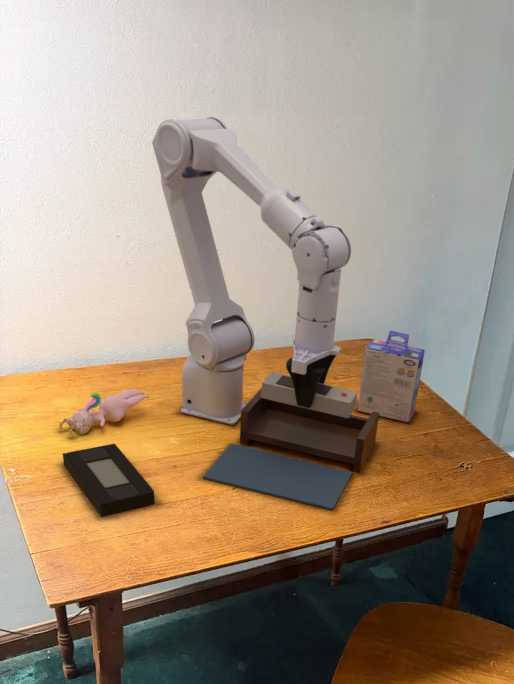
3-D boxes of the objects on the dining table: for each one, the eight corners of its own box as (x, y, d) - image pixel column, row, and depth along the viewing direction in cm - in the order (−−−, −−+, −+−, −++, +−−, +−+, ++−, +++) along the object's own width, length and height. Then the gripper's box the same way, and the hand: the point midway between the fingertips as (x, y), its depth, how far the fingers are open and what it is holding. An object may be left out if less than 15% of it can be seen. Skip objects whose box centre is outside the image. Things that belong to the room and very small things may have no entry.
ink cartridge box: (415, 411, 145) (428, 336, 136) (409, 424, 140) (423, 347, 132) (363, 399, 145) (373, 324, 137) (356, 411, 141) (366, 334, 133)
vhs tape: (115, 455, 118) (114, 443, 116) (155, 503, 109) (154, 491, 108) (64, 465, 113) (62, 453, 112) (101, 516, 105) (100, 504, 104)
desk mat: (202, 478, 116) (202, 476, 116) (231, 445, 125) (231, 443, 125) (332, 510, 114) (332, 508, 114) (352, 474, 123) (352, 472, 123)
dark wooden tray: (239, 443, 126) (240, 410, 122) (261, 417, 134) (263, 385, 130) (359, 473, 124) (364, 439, 121) (374, 444, 132) (379, 412, 129)
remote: (261, 397, 121) (261, 381, 119) (270, 386, 125) (271, 370, 123) (348, 418, 120) (350, 402, 118) (355, 406, 124) (357, 390, 122)
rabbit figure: (79, 450, 120) (160, 410, 128) (70, 417, 115) (154, 378, 124) (56, 434, 122) (136, 395, 131) (46, 401, 118) (129, 364, 127)
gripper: (329, 337, 108) (320, 425, 116) (355, 305, 120) (345, 387, 128) (279, 326, 108) (274, 414, 116) (311, 295, 120) (304, 377, 128)
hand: (308, 399), depth 122 cm, fingers closed on remote, 4 cm apart
